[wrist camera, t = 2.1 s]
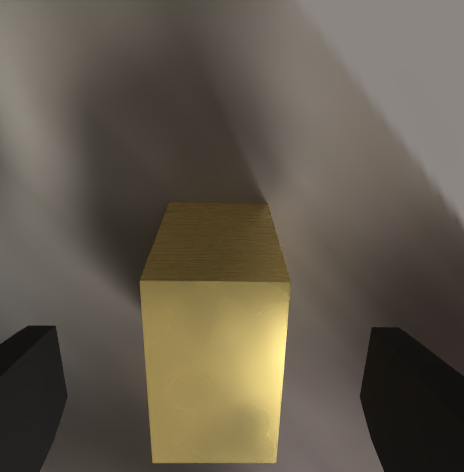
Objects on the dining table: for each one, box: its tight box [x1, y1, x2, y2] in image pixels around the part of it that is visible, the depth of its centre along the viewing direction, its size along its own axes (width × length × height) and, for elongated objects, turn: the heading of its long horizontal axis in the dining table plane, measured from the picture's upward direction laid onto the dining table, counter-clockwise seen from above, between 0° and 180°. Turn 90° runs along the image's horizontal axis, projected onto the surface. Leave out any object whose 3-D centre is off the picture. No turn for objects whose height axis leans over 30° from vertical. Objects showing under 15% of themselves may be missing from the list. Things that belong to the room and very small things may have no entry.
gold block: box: [140, 202, 291, 463], centre depth 12 cm, size 5×3×5 cm, turn 179°
